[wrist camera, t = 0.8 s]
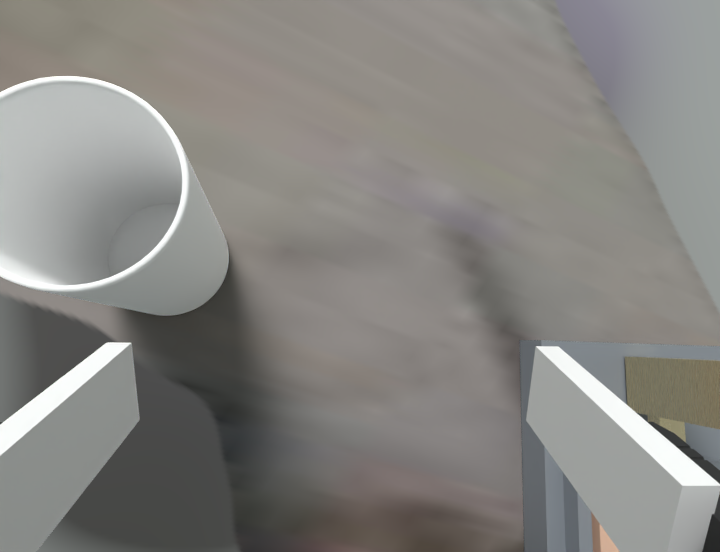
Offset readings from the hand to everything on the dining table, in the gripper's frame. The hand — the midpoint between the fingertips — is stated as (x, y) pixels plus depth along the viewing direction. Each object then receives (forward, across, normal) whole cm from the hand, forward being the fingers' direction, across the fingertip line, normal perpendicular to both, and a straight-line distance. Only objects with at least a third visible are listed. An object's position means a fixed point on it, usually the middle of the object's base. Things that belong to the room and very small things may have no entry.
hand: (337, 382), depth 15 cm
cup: (+18, +12, 0) cm, 22 cm away
